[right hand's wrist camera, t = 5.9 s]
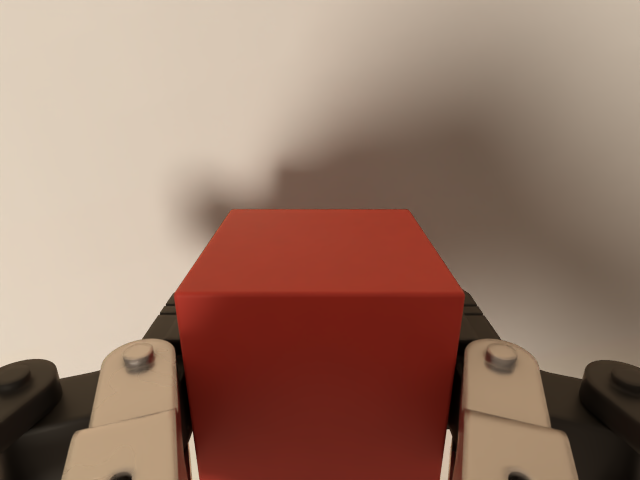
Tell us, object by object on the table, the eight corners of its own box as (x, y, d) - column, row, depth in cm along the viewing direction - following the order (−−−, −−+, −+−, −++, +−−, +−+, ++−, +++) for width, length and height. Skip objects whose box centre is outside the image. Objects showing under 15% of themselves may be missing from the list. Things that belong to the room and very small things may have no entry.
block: (409, 208, 11) (467, 293, 7) (397, 360, 13) (437, 507, 9) (230, 208, 11) (171, 293, 7) (242, 360, 13) (201, 506, 9)
